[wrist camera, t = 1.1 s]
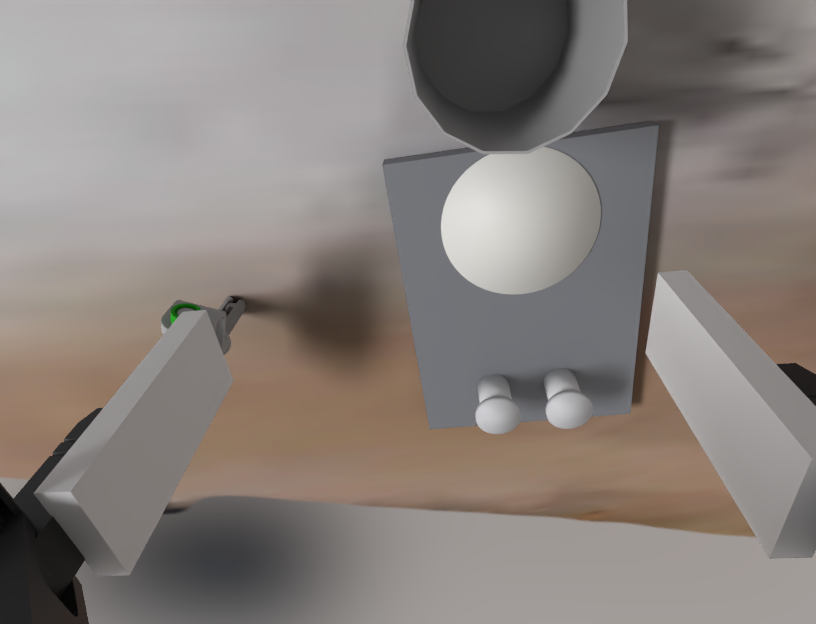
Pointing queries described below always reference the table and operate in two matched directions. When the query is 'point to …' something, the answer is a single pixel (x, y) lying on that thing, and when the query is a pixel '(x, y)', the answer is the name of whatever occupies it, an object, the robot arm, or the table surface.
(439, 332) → the board
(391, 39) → the table surface
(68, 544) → the robot arm
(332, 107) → the table surface
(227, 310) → the mechanical component
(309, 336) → the table surface
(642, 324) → the table surface
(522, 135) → the cup
